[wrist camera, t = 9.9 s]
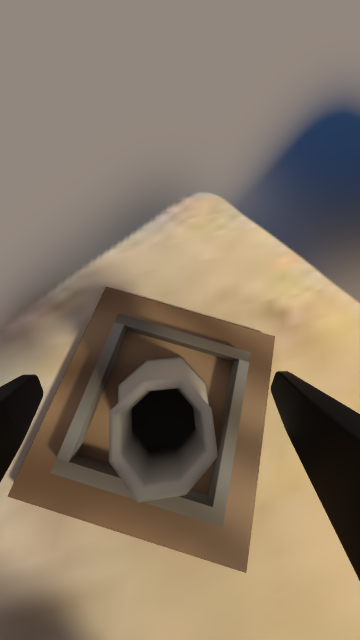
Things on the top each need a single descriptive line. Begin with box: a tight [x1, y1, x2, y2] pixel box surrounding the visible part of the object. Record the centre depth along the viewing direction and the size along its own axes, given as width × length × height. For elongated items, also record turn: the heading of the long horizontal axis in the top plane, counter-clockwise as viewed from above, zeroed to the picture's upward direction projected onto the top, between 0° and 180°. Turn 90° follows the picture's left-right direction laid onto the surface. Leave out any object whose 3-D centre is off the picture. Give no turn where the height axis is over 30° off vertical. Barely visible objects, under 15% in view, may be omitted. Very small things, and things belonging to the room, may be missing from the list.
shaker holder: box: [8, 287, 275, 573], centre depth 15 cm, size 16×16×2 cm
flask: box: [109, 356, 218, 503], centre depth 10 cm, size 7×7×10 cm
